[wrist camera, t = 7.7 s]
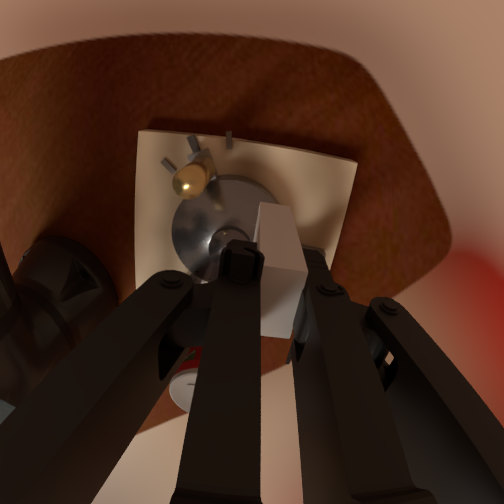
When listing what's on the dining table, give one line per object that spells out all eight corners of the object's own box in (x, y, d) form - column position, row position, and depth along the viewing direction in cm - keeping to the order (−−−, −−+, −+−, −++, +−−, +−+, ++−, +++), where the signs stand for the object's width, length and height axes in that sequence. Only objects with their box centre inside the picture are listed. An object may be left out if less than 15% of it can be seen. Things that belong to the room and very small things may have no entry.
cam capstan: (325, 258, 31) (339, 299, 24) (181, 296, 33) (163, 339, 27) (286, 121, 25) (293, 126, 19) (127, 179, 28) (90, 201, 22)
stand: (142, 282, 36) (131, 299, 32) (147, 121, 28) (132, 123, 24) (312, 309, 36) (315, 329, 33) (353, 151, 28) (364, 157, 25)
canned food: (198, 294, 36) (175, 362, 26) (264, 315, 37) (261, 387, 27) (184, 340, 39) (163, 407, 29) (243, 358, 40) (236, 427, 30)
